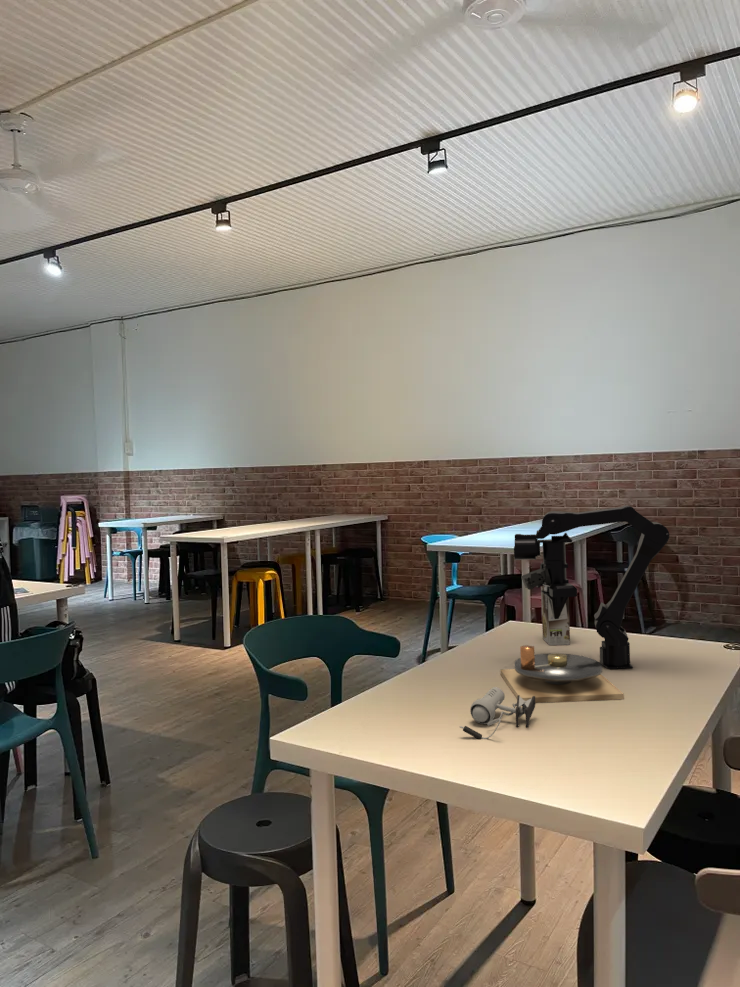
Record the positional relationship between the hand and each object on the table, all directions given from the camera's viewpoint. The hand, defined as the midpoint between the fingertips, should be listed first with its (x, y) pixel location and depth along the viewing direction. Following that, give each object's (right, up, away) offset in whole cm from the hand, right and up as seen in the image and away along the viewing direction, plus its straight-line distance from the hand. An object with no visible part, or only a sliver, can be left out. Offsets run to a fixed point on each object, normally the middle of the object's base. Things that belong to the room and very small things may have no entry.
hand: (556, 618), depth 192 cm
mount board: (-4, -13, -18) cm, 23 cm away
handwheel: (-4, -9, -19) cm, 21 cm away
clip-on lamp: (-23, -15, -44) cm, 52 cm away
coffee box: (+6, -11, +25) cm, 28 cm away
